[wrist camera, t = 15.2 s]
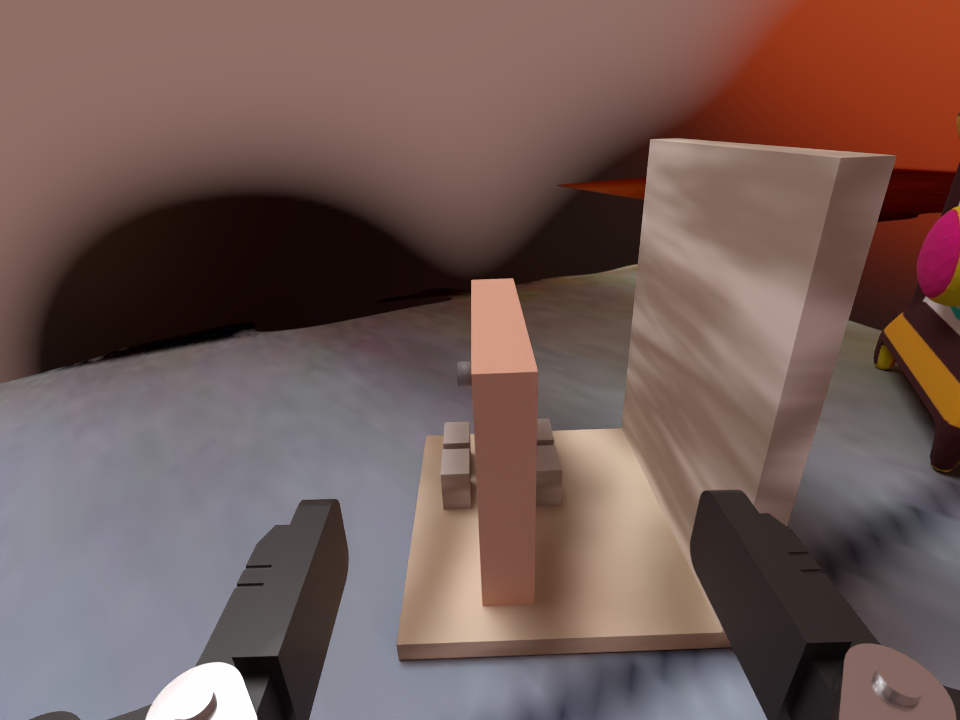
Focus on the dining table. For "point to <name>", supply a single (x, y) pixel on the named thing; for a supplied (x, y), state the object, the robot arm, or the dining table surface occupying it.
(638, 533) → the wooden bookend stand
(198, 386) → the dining table surface
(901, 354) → the decorative lantern
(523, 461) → the door
